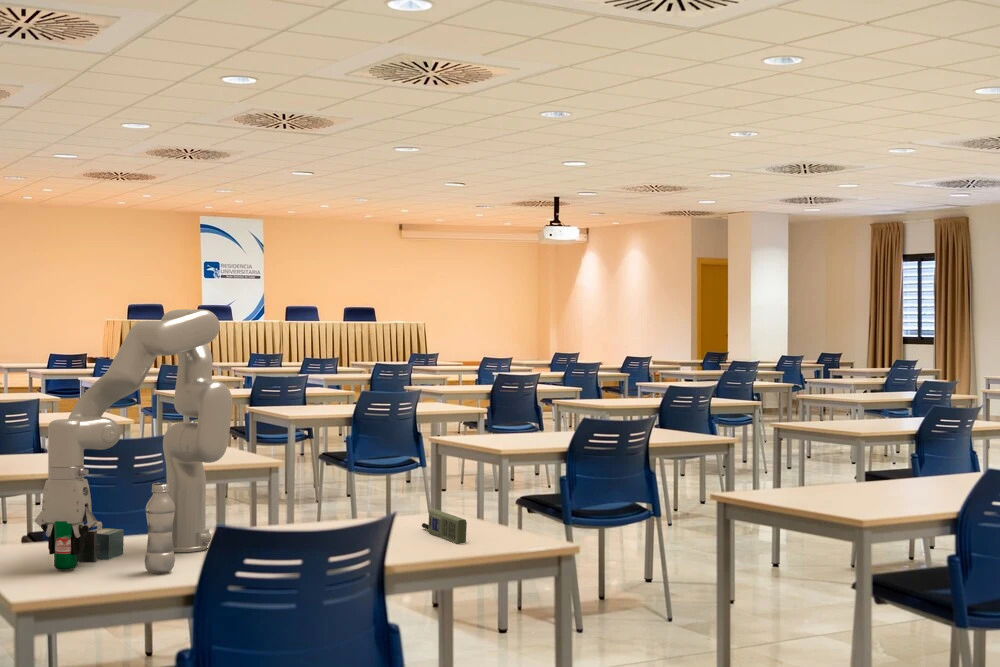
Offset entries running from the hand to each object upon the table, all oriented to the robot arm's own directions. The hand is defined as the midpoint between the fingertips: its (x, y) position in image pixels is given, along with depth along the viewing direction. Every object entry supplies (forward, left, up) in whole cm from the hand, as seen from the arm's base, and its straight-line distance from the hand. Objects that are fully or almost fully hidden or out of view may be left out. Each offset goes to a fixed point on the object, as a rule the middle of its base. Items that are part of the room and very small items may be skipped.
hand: (65, 552), depth 253 cm
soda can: (0, 0, -4) cm, 4 cm away
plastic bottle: (-22, -2, -4) cm, 22 cm away
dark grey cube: (0, -16, -4) cm, 17 cm away
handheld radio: (-74, -60, -5) cm, 96 cm away
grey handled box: (0, -10, -3) cm, 11 cm away
